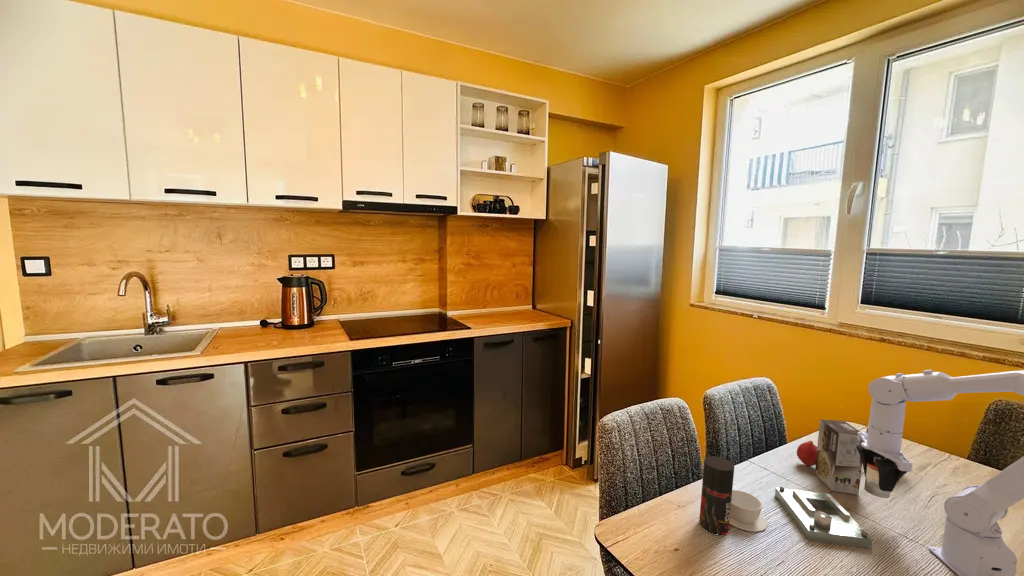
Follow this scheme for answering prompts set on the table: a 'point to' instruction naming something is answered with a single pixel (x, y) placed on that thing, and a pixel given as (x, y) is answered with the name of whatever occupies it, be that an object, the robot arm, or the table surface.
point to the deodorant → (716, 495)
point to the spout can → (874, 480)
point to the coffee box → (838, 456)
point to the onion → (807, 453)
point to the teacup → (746, 512)
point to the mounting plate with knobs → (822, 518)
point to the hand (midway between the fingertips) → (878, 484)
